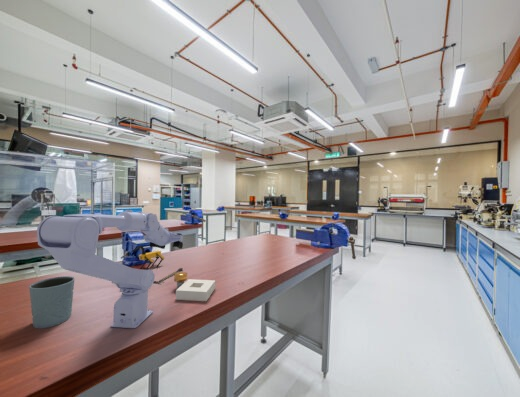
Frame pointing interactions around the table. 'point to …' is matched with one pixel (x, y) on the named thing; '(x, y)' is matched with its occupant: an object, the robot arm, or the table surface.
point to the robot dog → (149, 256)
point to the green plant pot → (51, 301)
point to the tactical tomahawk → (167, 277)
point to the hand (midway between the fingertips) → (173, 246)
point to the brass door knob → (180, 278)
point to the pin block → (195, 290)
